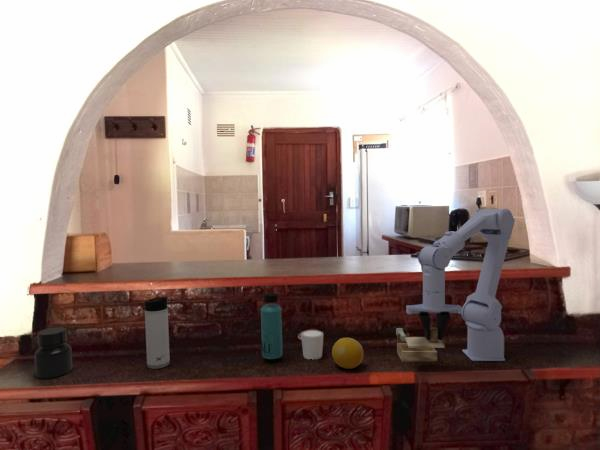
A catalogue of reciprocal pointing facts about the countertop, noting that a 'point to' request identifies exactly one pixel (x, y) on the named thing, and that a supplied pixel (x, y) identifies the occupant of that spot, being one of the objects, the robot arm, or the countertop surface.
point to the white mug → (312, 344)
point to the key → (401, 333)
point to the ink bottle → (53, 353)
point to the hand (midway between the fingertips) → (433, 339)
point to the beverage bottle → (271, 328)
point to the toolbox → (415, 352)
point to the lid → (425, 340)
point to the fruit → (347, 353)
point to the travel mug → (157, 332)
